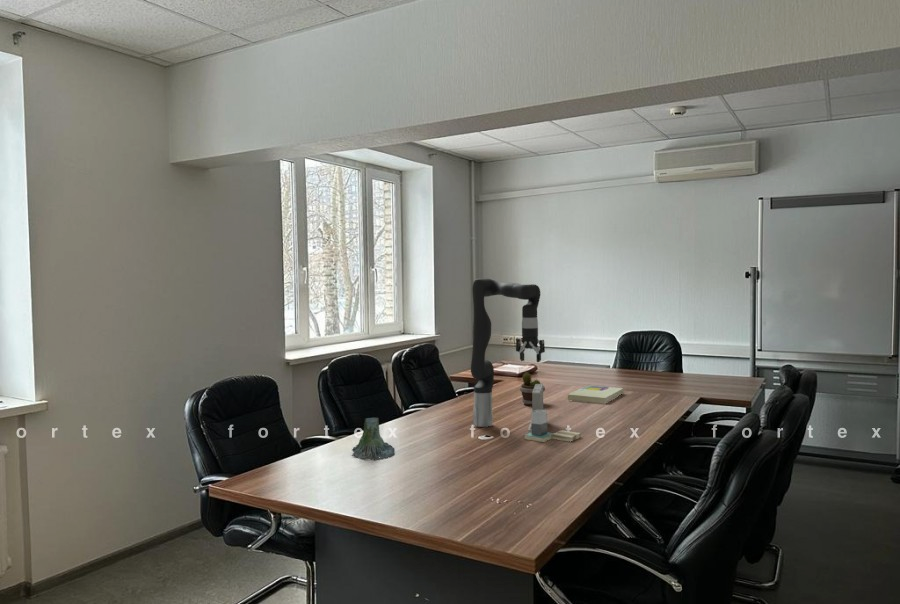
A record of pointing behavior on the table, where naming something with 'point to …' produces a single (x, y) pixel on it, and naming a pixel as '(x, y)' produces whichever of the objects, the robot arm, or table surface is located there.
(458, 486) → the table surface
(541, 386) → the network device
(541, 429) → the grey rectangular block
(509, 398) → the table surface
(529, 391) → the flowerpot
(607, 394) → the puzzle box
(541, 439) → the stand
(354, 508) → the table surface
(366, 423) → the tree stump
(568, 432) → the stand
